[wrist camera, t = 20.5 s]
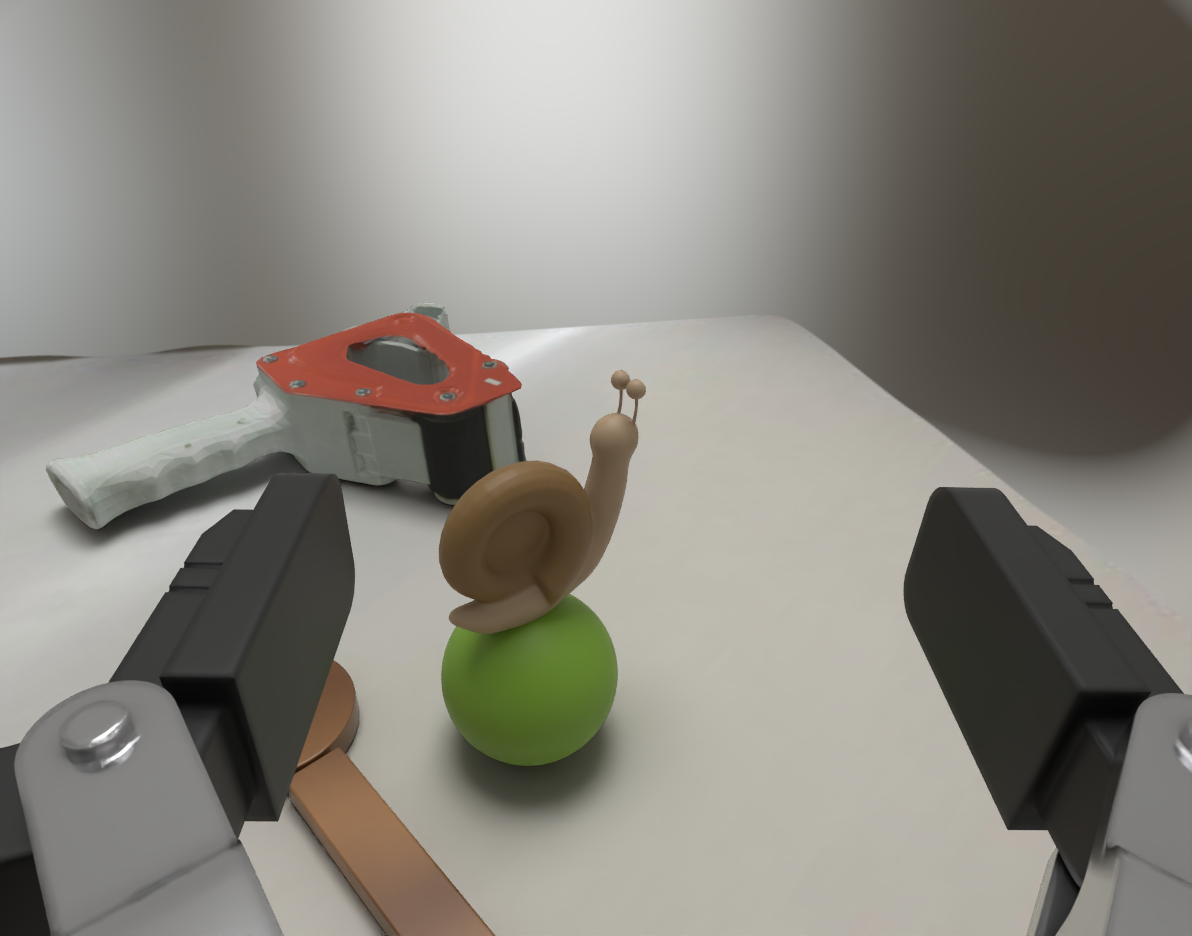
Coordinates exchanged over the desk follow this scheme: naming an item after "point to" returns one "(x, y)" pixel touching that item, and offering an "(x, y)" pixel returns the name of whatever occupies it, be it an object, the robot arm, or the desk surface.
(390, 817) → the spoon
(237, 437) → the tape dispenser
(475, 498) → the snail figurine
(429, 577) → the desk surface
